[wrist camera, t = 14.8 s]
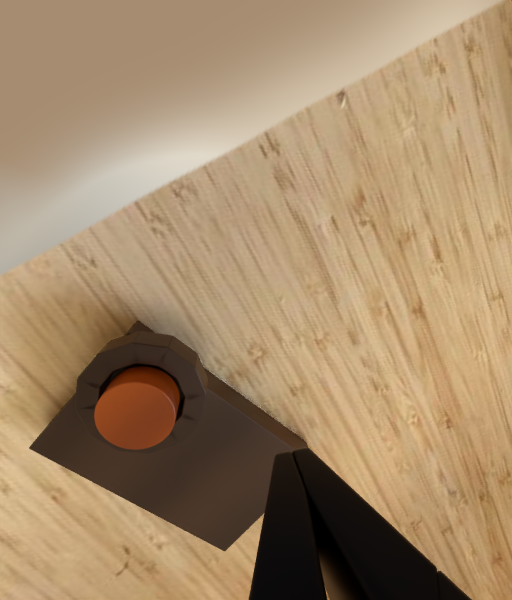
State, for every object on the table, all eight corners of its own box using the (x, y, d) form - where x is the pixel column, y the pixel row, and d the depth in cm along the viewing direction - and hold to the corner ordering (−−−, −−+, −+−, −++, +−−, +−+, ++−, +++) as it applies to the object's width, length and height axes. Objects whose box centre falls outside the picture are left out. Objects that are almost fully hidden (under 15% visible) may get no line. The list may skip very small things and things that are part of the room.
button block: (42, 421, 20) (-1, 469, 16) (146, 299, 19) (128, 318, 15) (224, 523, 24) (225, 579, 20) (319, 429, 23) (339, 470, 19)
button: (91, 403, 16) (76, 424, 15) (136, 352, 16) (126, 367, 14) (150, 439, 17) (143, 462, 16) (194, 391, 17) (191, 411, 15)
